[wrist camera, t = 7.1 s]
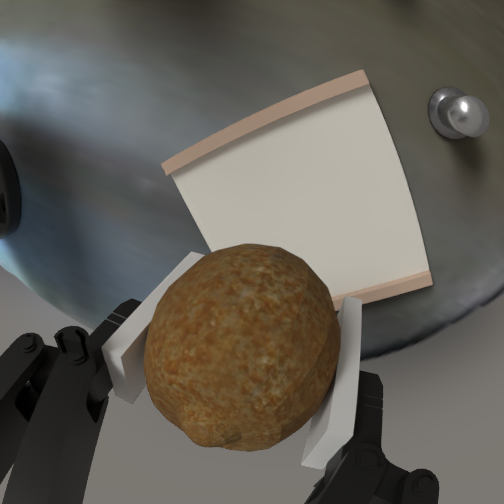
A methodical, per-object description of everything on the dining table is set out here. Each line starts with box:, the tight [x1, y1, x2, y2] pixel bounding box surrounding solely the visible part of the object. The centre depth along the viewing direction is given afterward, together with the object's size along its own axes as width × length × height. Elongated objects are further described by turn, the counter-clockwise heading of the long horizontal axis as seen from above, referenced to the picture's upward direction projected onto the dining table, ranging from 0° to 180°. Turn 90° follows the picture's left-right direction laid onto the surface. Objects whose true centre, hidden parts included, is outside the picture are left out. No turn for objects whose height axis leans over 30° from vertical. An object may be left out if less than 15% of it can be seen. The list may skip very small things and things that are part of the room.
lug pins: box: [428, 87, 489, 139], centre depth 13 cm, size 4×17×4 cm, turn 26°
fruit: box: [143, 243, 341, 452], centre depth 10 cm, size 6×6×8 cm
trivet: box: [161, 69, 433, 311], centre depth 23 cm, size 16×16×1 cm
